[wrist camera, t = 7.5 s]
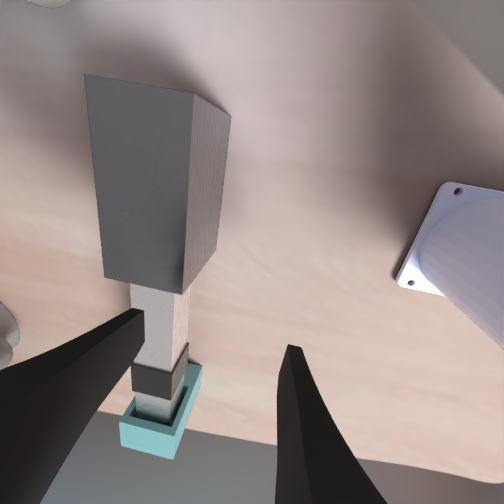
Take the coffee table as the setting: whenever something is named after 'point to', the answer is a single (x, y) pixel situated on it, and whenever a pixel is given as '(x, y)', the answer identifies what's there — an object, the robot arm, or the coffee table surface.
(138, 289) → the metal square rod
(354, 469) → the robot arm
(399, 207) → the coffee table surface
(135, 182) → the graphite sleeve
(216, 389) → the coffee table surface
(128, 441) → the teal socket
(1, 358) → the coffee mug
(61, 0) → the pale two-lobed sculpture
